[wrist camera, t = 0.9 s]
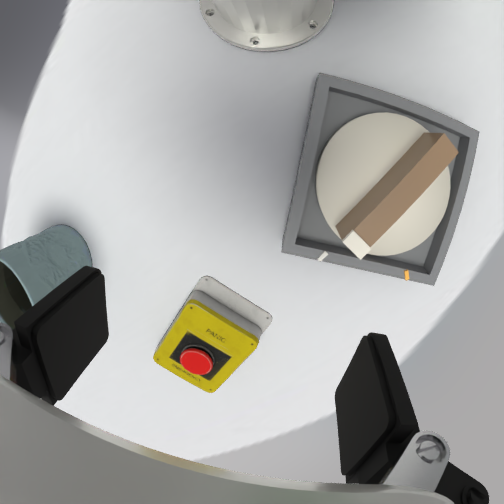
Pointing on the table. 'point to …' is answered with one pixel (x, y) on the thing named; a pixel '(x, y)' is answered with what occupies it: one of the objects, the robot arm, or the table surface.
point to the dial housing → (304, 196)
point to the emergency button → (211, 335)
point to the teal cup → (38, 268)
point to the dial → (384, 183)
